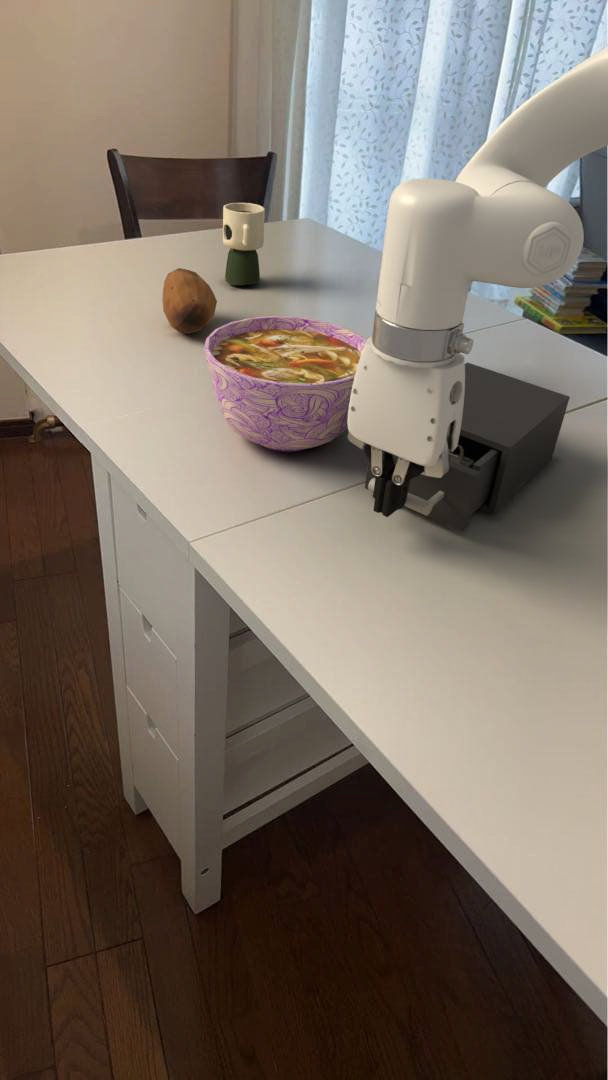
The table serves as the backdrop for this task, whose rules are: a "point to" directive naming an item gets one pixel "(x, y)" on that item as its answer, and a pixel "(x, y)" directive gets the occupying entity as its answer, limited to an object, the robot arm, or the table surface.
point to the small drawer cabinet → (511, 427)
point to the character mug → (243, 241)
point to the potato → (187, 301)
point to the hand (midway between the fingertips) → (388, 508)
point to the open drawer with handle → (453, 486)
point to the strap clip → (461, 458)
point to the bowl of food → (284, 379)
